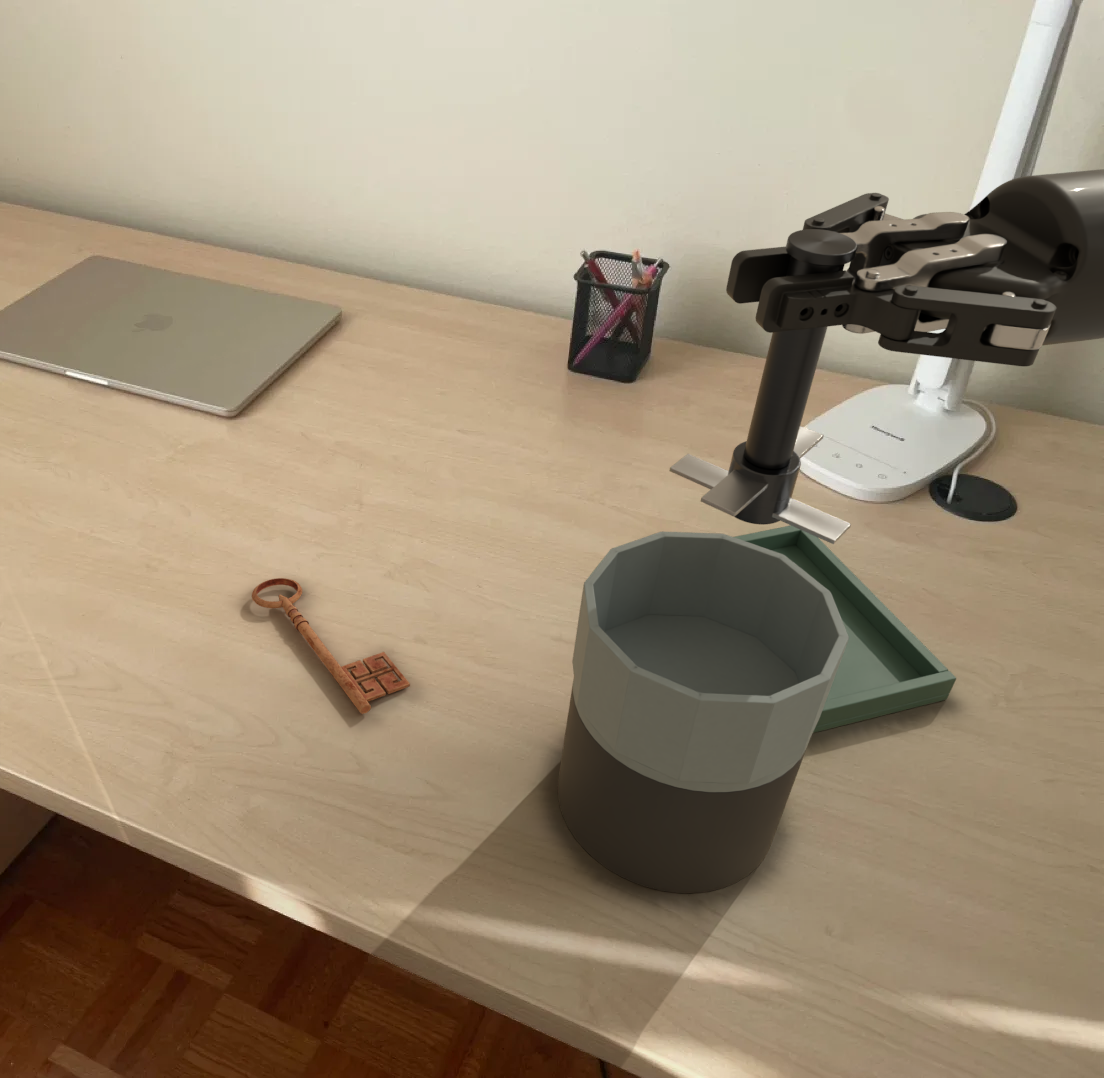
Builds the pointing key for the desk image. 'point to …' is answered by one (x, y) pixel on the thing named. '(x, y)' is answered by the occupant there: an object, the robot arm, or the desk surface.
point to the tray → (863, 640)
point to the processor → (692, 705)
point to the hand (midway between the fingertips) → (749, 292)
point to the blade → (779, 416)
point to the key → (329, 661)
